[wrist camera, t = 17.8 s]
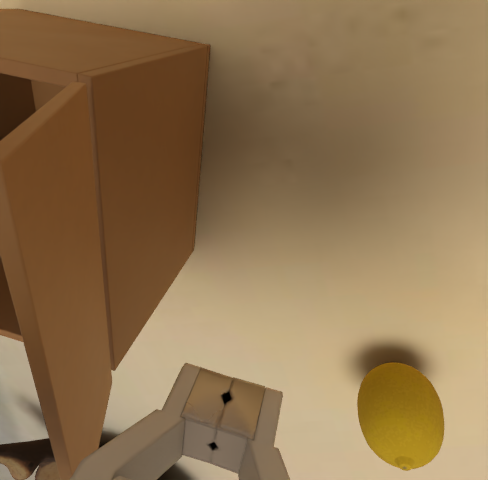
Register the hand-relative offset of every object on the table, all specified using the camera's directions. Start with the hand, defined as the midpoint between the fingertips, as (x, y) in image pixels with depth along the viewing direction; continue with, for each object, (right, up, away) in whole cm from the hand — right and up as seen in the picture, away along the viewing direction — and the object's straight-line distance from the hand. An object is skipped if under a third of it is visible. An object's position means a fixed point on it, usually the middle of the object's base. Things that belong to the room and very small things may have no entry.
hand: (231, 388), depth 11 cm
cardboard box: (-8, +11, +14) cm, 20 cm away
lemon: (+12, -5, +19) cm, 23 cm away
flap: (-5, +2, +1) cm, 6 cm away
